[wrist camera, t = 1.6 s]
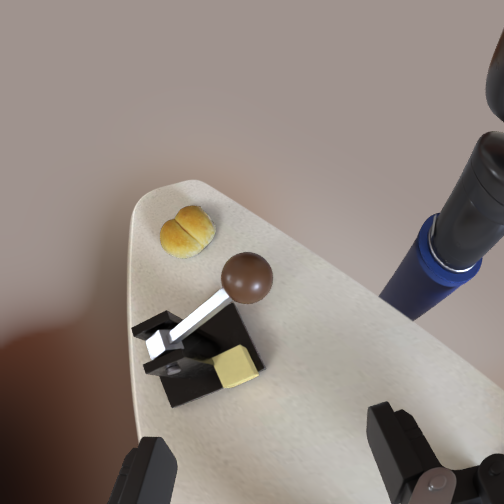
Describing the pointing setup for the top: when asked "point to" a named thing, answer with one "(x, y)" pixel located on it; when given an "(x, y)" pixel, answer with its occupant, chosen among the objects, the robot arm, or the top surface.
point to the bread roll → (187, 232)
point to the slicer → (196, 353)
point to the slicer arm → (219, 300)
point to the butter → (234, 367)
